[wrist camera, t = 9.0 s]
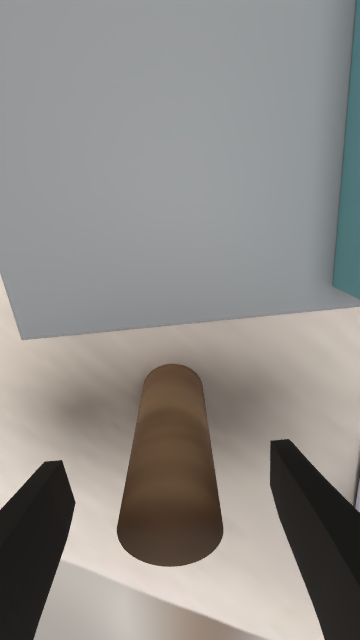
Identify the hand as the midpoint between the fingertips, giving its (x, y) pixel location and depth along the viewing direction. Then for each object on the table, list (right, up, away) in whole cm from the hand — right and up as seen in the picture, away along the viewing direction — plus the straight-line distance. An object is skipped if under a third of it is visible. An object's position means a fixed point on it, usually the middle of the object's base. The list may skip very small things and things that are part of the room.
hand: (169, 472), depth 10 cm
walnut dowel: (0, +2, +5) cm, 5 cm away
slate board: (+5, +12, +1) cm, 13 cm away
